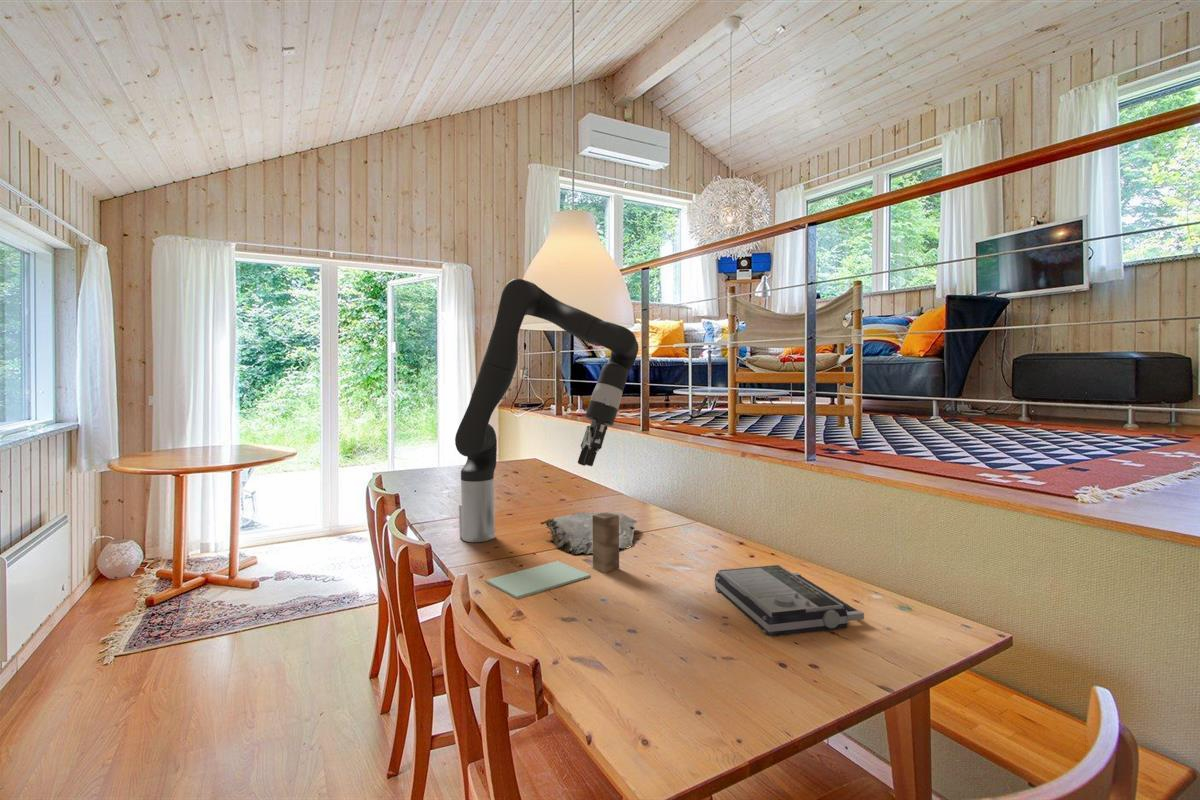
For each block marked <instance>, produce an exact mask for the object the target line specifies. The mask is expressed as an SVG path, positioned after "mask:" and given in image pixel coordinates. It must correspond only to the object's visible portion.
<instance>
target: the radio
mask: <svg viewBox="0 0 1200 800" xmlns="http://www.w3.org/2000/svg"><path fill="white" fill-rule="evenodd" d="M714 588H715V591H716V593H720V594H721V595H722V596H723V597H724V598H725V599H727V601H729V602H730V603H731V604H732V605H733V606H735V607H736V608H737V609H738V610H739V611H740V612H742V614H743V615H745V616H746V618H748V619H750V621H751V622H752V623H754V624H755V625H756V624H757V625H758V626H757V627H759V628H760V629H761V630H762V633H763V634H765V633H767V634H766V635H767V636H769V637H770V636H776V637H781V636H780V635H785V636H791V635H792V634H793V635H801V634H800V633H802V634H808V633H810V634H811V633H816V632H826V631H834V630H843V629H845V630H846V629H847V626H848V622H852V621H860V620H865V612H864V611H862V610H858V609H856V608H854V607H853V606H851V605H849V604H848V603H846V602H845V601H843V600H841V599H839V598H838V597H836V596H835V595H833V594H831V593H830V592H828V591H827V590H826V589H824V588H821V587H820V586H818V585H817V584H815V583H814V582H812V581H810V580H809V579H807V578H805V577H803V575H801V574H800V573H799V572H791V571H790V570H788V569H786V568H784V567H783V566H782V565H780V564H774V565H773V564H772V565H762V566H761V565H760V566H751V567H750V566H749V567H737V568H727V569H726V568H725V569H718V570H717V572H716V573H715V575H714ZM793 635H792V636H793Z"/></svg>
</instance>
